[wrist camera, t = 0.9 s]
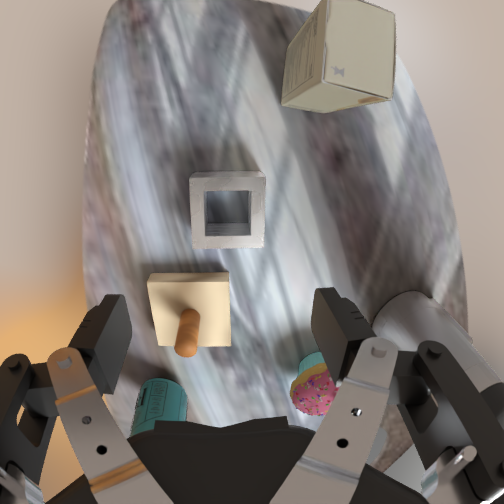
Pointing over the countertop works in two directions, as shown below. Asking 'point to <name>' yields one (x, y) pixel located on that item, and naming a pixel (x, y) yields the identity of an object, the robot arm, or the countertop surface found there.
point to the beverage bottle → (159, 404)
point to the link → (227, 232)
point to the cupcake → (313, 386)
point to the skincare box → (341, 58)
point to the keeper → (190, 310)
